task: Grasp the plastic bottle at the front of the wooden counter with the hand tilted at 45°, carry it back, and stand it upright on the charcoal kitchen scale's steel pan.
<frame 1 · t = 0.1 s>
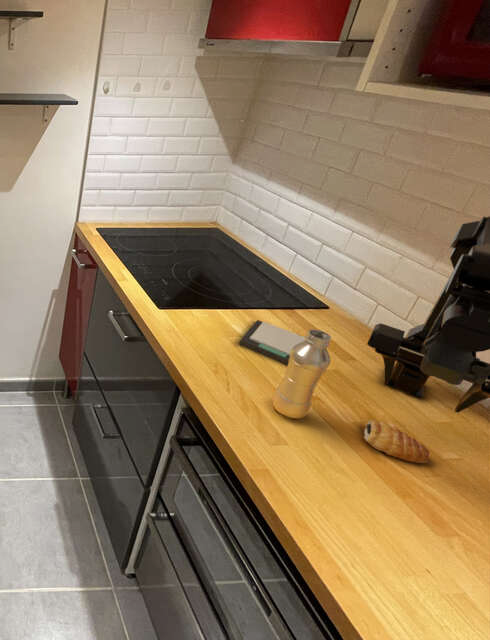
hand: (420, 396, 80), 15 cm above the worktop, tool pointing down, fingers open, 9 cm apart
pastry: (388, 446, 88), on the worktop
plastic bottle: (286, 411, 96), on the worktop
scale: (277, 346, 116), on the worktop
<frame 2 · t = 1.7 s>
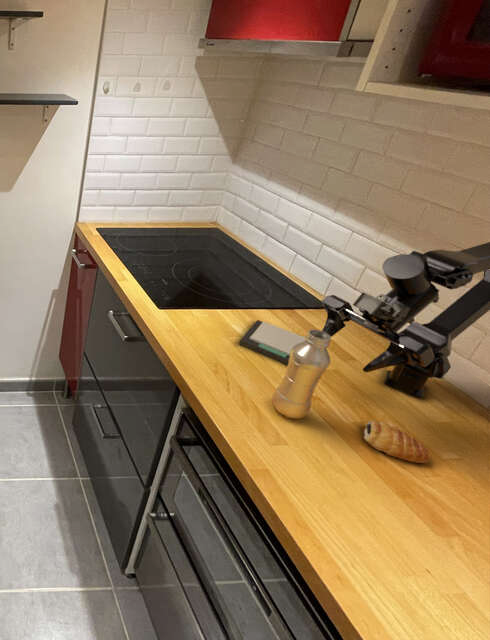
hand: (340, 356, 92), 13 cm above the worktop, tool tilted 45°, fingers open, 9 cm apart
nothing on the worktop moved.
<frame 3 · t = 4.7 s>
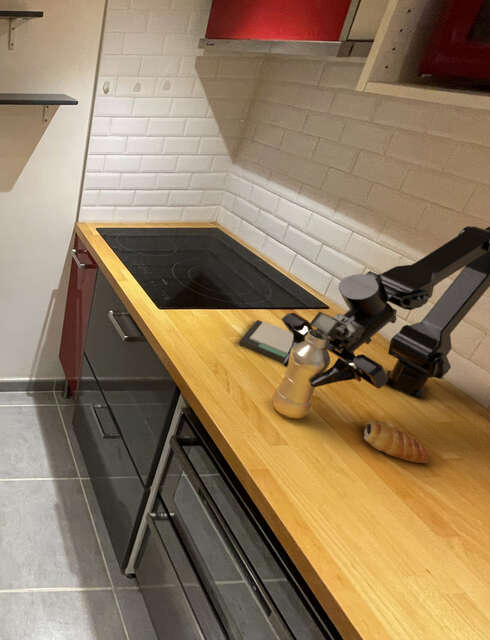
hand: (297, 375, 91), 10 cm above the worktop, tool tilted 45°, fingers closed on plastic bottle, 6 cm apart
plastic bottle: (286, 411, 96), on the worktop, touching gripper
everything else where it was.
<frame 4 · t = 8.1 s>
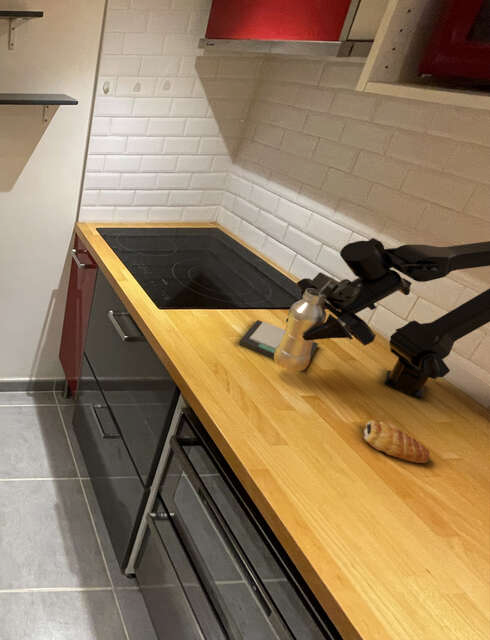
hand: (295, 330, 100), 13 cm above the worktop, tool tilted 45°, fingers closed on plastic bottle, 6 cm apart
plastic bottle: (287, 366, 104), point 3 cm above the worktop, touching gripper
everything else where it was.
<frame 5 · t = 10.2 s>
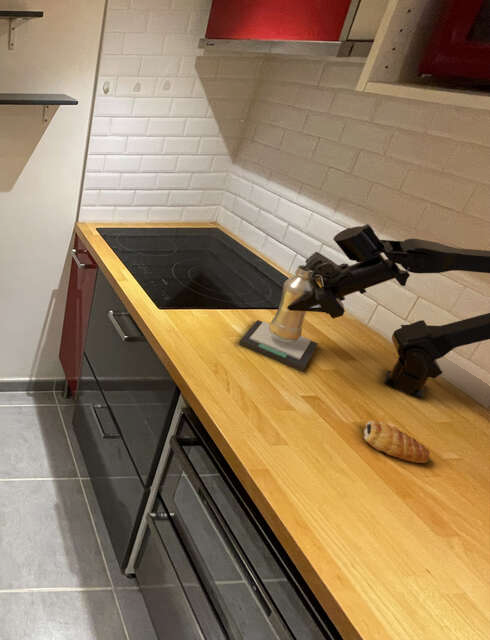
hand: (287, 302, 110), 13 cm above the worktop, tool tilted 45°, fingers closed on plastic bottle, 6 cm apart
plastic bottle: (281, 338, 114), point 3 cm above the worktop, touching gripper
everything else where it was.
when the fingers open (12 cm above the worktop, at t = 11.8 s): plastic bottle stays where it is, resting on scale.
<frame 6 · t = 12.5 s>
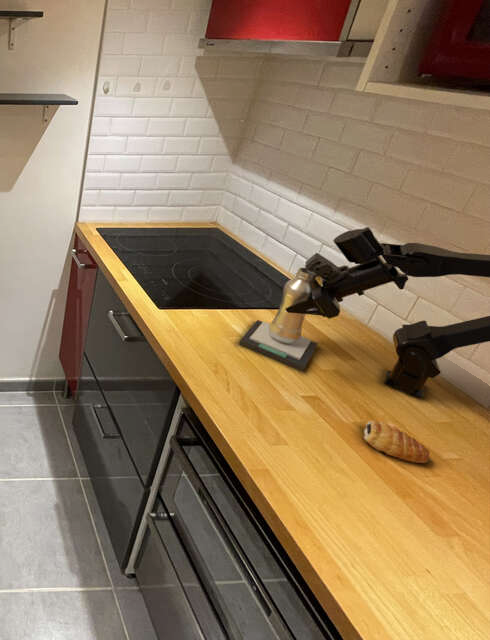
hand: (287, 302, 112), 12 cm above the worktop, tool tilted 45°, fingers open, 9 cm apart
plastic bottle: (281, 339, 116), point 2 cm above the worktop, touching scale
everything else where it was.
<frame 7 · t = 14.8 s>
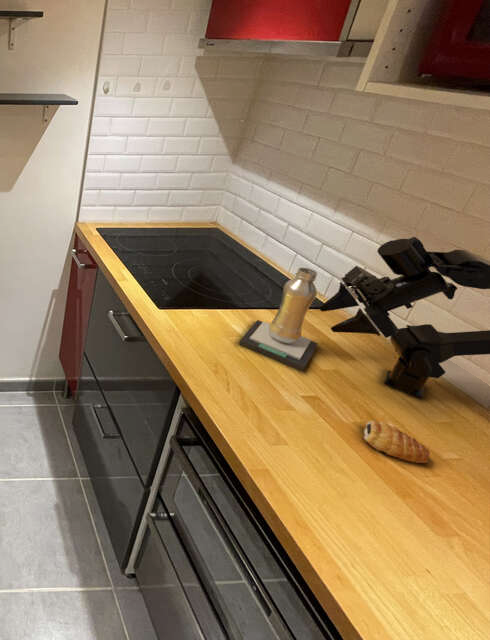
hand: (325, 319, 105), 13 cm above the worktop, tool tilted 45°, fingers open, 9 cm apart
nothing on the worktop moved.
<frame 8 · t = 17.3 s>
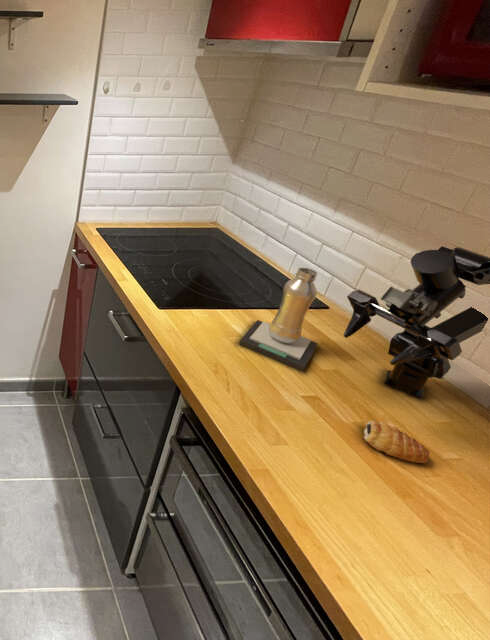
hand: (366, 349, 93), 14 cm above the worktop, tool tilted 45°, fingers open, 9 cm apart
nothing on the worktop moved.
at the end: plastic bottle inside the target area on the scale (0.2 cm from its centre), point 1.8 cm above the scale's base; plastic bottle tilted 0°; the gripper is holding nothing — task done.
